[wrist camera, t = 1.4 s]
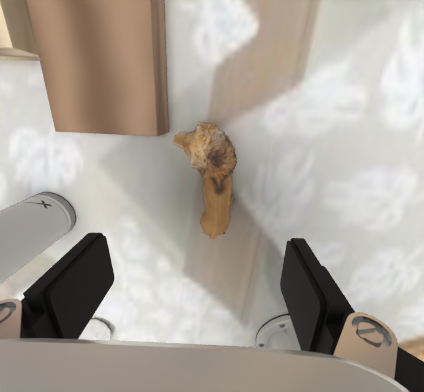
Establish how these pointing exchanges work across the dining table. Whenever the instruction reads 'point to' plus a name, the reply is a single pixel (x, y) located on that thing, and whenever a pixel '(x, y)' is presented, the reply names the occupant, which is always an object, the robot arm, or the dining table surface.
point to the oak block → (16, 31)
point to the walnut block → (103, 64)
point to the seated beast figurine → (96, 331)
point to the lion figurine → (211, 173)
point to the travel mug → (31, 230)
